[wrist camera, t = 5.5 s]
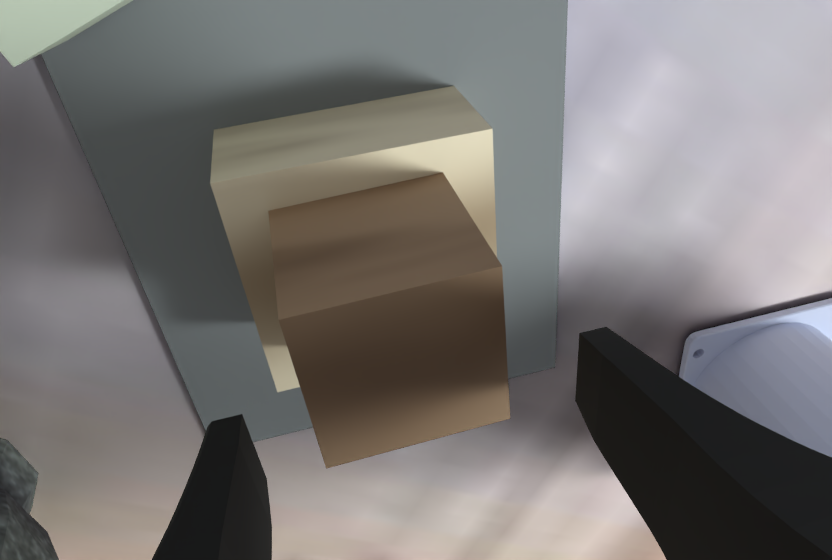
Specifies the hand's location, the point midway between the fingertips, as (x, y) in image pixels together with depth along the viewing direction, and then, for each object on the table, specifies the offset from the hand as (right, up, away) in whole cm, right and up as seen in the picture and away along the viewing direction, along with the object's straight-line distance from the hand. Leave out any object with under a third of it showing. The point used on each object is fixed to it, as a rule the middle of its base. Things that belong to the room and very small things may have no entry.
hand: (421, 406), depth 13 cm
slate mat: (-2, +5, +7) cm, 9 cm away
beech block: (-2, +5, +7) cm, 9 cm away
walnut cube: (-1, +3, +4) cm, 5 cm away
